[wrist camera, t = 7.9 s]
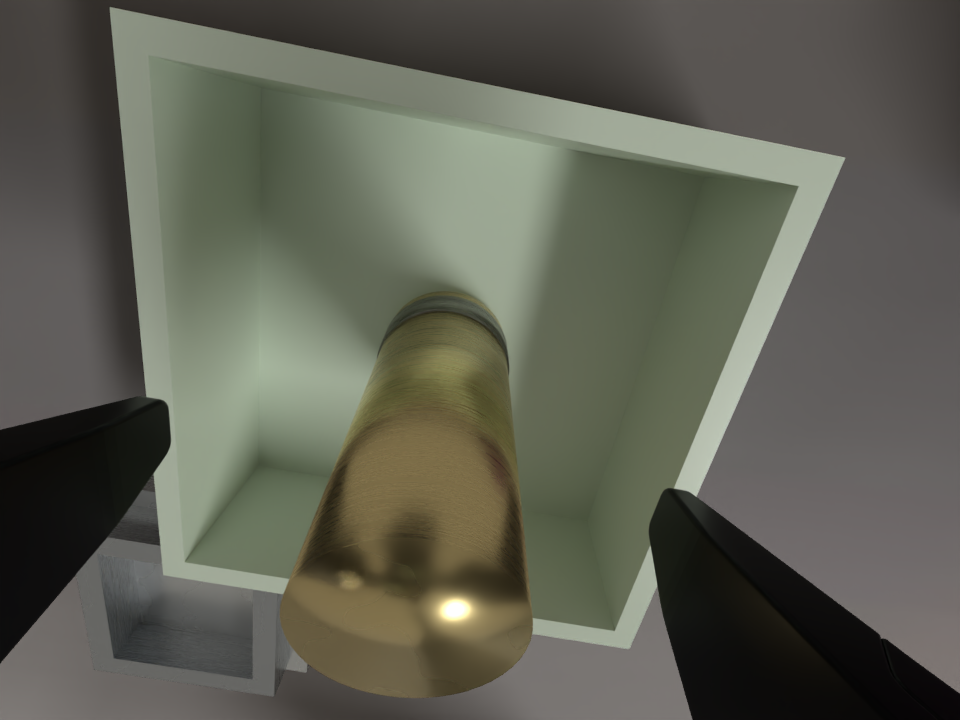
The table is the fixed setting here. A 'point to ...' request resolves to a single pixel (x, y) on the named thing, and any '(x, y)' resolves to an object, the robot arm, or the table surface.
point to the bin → (438, 267)
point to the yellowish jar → (420, 518)
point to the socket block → (177, 616)
